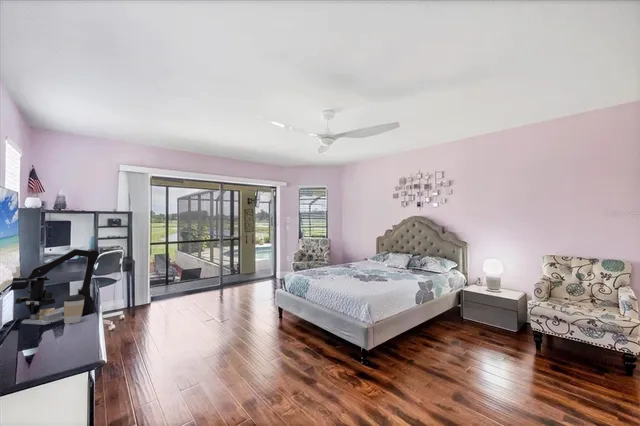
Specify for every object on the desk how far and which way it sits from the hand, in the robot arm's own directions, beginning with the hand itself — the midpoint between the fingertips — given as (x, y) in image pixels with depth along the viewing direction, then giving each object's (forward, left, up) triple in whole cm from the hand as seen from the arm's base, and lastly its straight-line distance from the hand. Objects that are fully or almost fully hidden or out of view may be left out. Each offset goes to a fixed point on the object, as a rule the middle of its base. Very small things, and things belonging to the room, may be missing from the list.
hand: (33, 316), depth 158 cm
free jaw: (-3, 0, -1) cm, 3 cm away
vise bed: (-6, 0, -2) cm, 7 cm away
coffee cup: (-23, 0, -3) cm, 23 cm away
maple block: (-8, 0, -1) cm, 8 cm away
